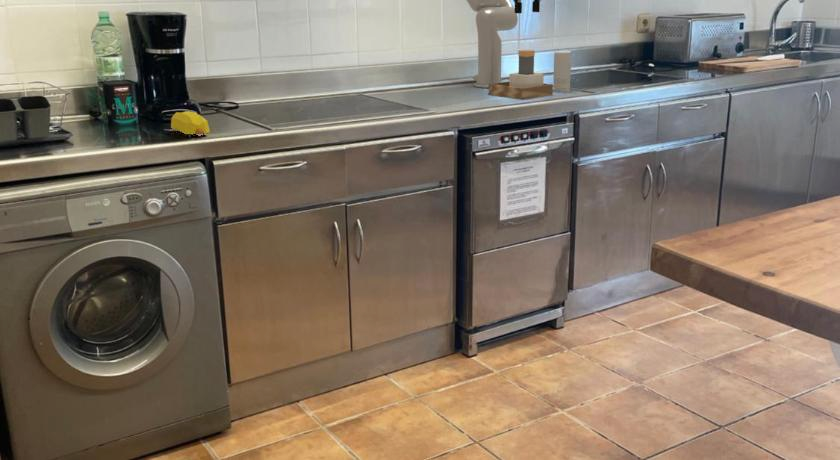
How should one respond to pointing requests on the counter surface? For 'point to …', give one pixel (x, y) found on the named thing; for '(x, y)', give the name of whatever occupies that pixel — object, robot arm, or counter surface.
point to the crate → (520, 91)
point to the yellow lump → (189, 123)
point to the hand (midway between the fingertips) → (527, 12)
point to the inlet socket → (525, 80)
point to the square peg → (526, 62)
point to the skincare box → (562, 71)
